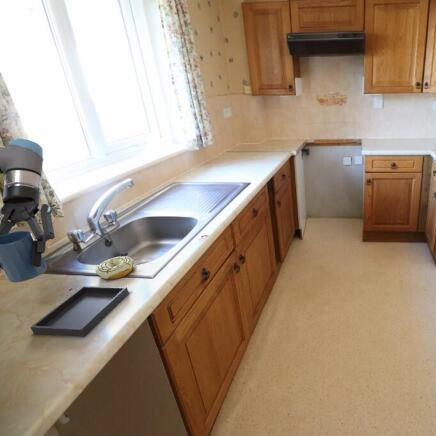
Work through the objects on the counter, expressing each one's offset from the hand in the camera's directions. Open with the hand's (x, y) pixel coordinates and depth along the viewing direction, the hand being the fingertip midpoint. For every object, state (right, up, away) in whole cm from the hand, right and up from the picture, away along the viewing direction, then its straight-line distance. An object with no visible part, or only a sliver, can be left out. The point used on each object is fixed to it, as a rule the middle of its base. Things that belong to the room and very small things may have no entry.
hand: (15, 268), depth 83 cm
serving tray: (+13, -13, +6) cm, 20 cm away
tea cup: (-1, -2, +4) cm, 5 cm away
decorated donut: (+11, -5, +24) cm, 27 cm away
